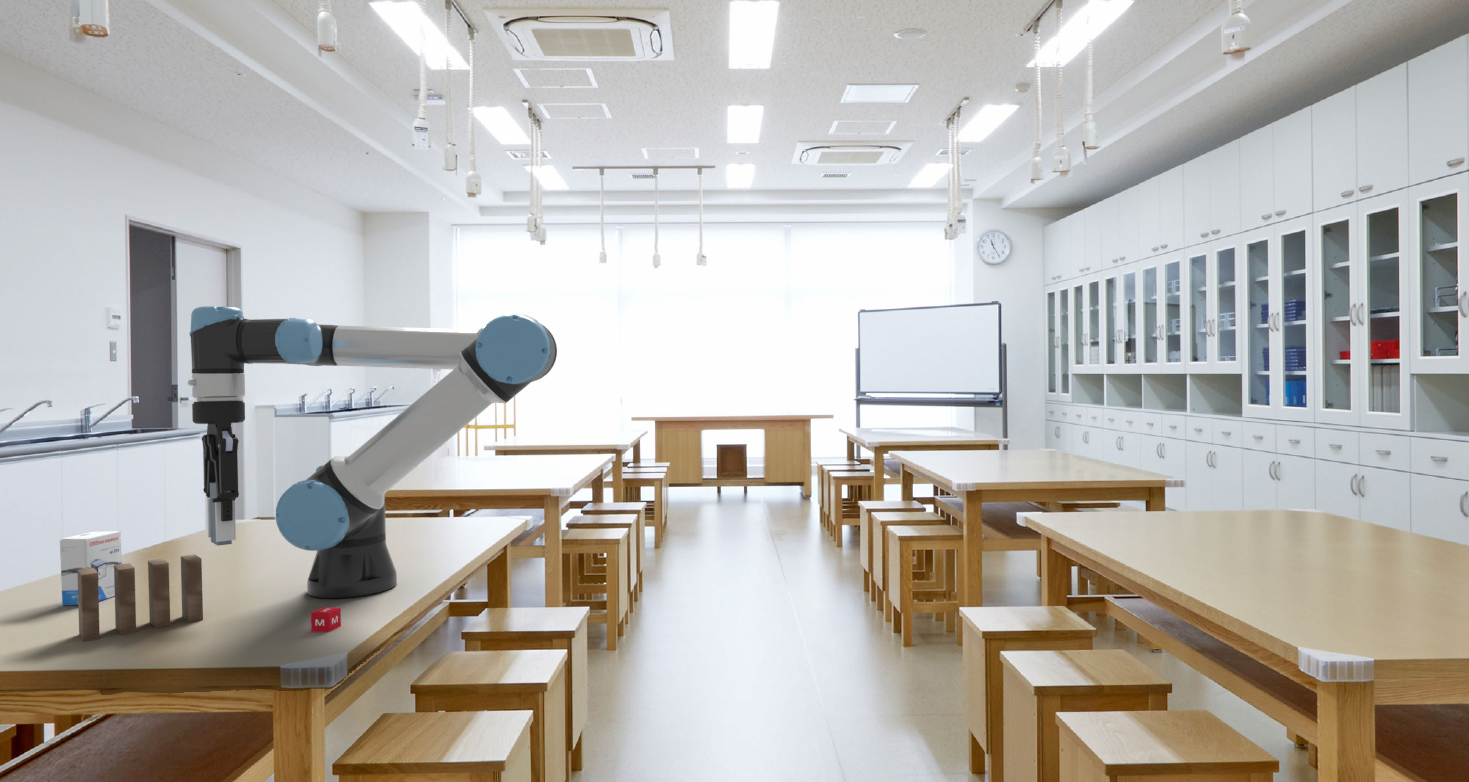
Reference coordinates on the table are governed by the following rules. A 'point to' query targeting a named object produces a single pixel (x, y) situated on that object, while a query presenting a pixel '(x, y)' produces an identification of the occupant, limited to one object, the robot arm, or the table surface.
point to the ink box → (89, 562)
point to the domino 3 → (191, 588)
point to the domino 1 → (125, 598)
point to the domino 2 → (159, 593)
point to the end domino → (88, 604)
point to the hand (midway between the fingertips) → (221, 538)
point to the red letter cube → (325, 619)
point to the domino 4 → (212, 516)
